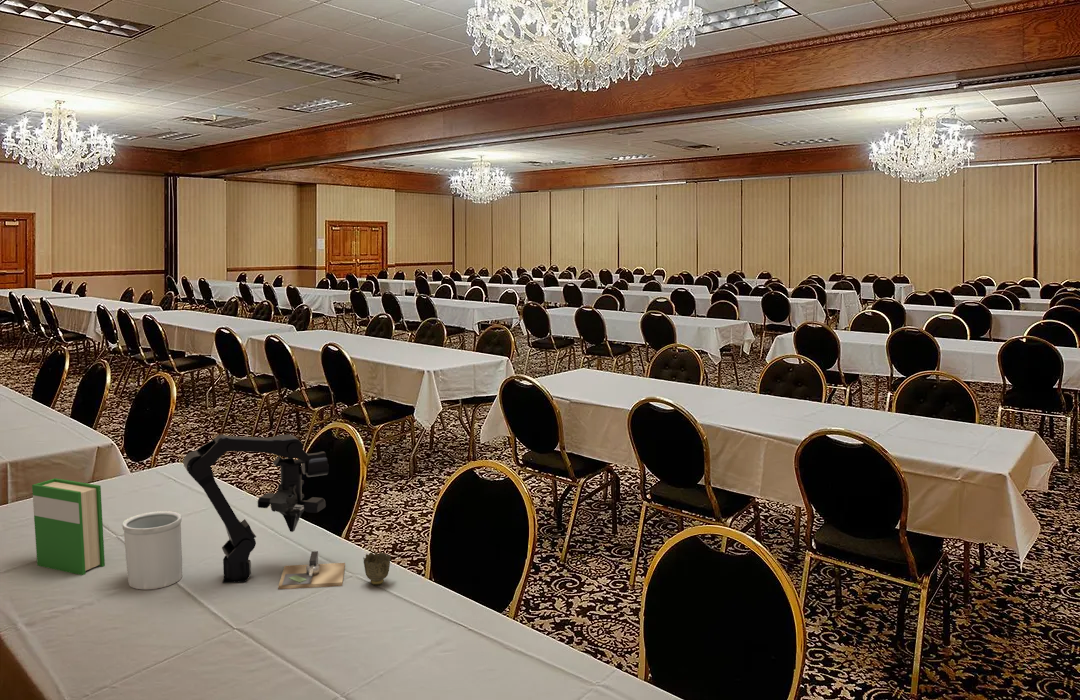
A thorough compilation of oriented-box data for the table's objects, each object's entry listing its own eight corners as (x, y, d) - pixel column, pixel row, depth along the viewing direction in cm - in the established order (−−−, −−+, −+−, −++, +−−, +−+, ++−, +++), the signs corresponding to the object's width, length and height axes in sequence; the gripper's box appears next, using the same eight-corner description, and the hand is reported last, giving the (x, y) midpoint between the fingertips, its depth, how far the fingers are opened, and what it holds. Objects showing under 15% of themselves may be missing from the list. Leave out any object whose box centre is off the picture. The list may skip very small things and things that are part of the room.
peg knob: (317, 581, 228) (317, 569, 227) (303, 582, 227) (303, 570, 227) (321, 562, 241) (321, 551, 241) (308, 562, 241) (308, 551, 240)
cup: (384, 590, 226) (384, 562, 225) (359, 588, 228) (359, 560, 227) (394, 580, 234) (394, 552, 232) (370, 577, 235) (369, 550, 234)
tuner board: (278, 589, 226) (278, 584, 226) (284, 569, 240) (284, 564, 239) (342, 585, 229) (342, 581, 229) (345, 566, 243) (345, 561, 242)
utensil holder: (113, 583, 228) (110, 522, 225) (160, 565, 241) (158, 507, 238) (149, 595, 221) (146, 532, 218) (195, 575, 234) (193, 516, 231)
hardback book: (104, 565, 240) (100, 485, 236) (82, 575, 233) (77, 492, 229) (60, 556, 246) (55, 478, 242) (37, 565, 239) (32, 485, 236)
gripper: (246, 484, 231) (247, 538, 233) (307, 490, 227) (308, 544, 229) (267, 473, 242) (268, 524, 244) (326, 478, 238) (326, 530, 240)
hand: (292, 531), depth 239 cm, fingers closed
